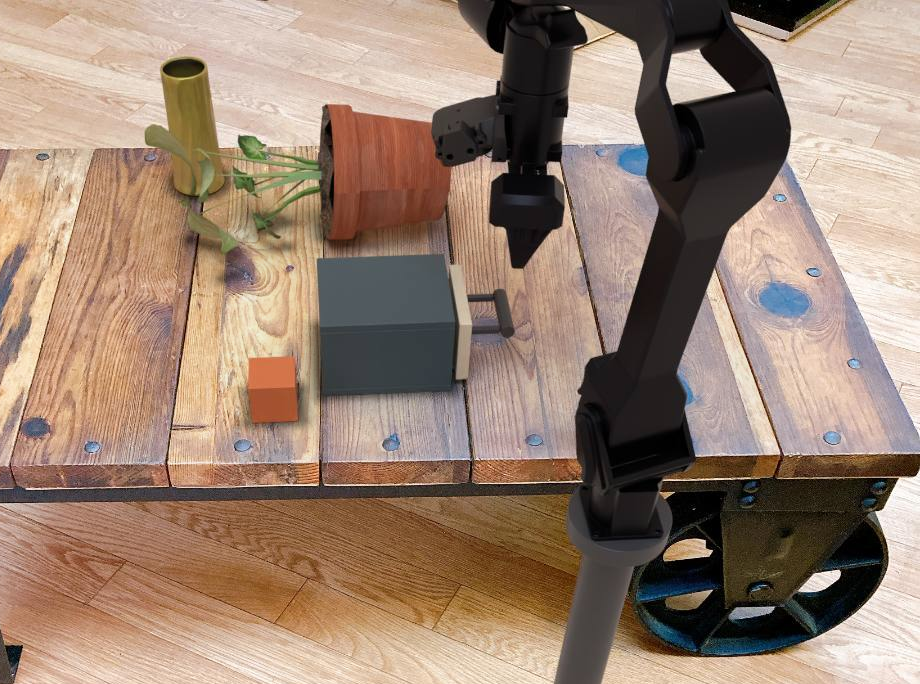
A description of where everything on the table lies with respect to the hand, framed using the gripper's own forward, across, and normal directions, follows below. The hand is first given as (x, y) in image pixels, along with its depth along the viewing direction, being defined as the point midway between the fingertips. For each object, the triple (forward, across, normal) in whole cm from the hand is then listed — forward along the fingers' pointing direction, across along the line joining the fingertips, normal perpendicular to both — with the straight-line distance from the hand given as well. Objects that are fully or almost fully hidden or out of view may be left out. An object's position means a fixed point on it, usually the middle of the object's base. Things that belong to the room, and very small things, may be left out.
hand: (517, 238), depth 104 cm
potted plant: (+12, -17, -24) cm, 32 cm away
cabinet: (+12, +4, -12) cm, 18 cm away
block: (+12, +12, -22) cm, 28 cm away
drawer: (+12, +3, -8) cm, 14 cm away
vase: (+12, -26, -37) cm, 47 cm away
